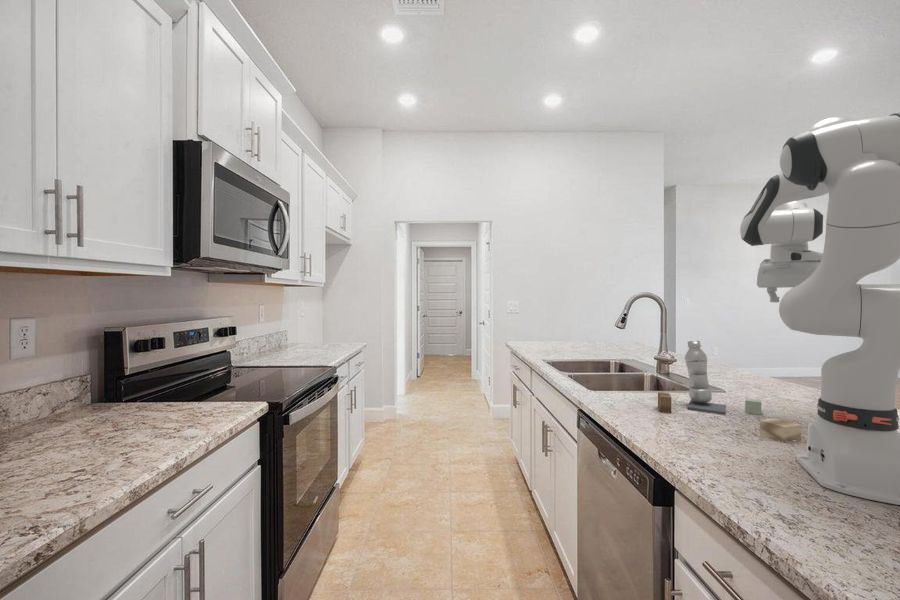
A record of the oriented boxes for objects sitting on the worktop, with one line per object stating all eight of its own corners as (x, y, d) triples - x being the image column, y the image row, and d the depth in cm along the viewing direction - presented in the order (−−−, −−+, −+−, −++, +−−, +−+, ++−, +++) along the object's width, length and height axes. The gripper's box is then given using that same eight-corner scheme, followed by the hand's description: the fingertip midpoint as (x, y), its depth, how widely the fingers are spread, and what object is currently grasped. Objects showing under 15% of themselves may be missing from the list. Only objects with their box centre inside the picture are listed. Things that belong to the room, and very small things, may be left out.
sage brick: (761, 415, 126) (761, 402, 126) (745, 413, 129) (745, 400, 129) (760, 412, 130) (761, 399, 130) (745, 410, 132) (745, 397, 132)
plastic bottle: (713, 400, 137) (705, 340, 138) (712, 405, 132) (704, 341, 133) (690, 400, 141) (683, 341, 142) (689, 404, 135) (681, 342, 136)
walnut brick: (671, 413, 128) (671, 397, 128) (660, 412, 129) (660, 396, 129) (668, 408, 134) (668, 392, 134) (657, 407, 135) (657, 392, 135)
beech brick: (801, 440, 105) (801, 425, 105) (784, 443, 104) (784, 427, 104) (776, 433, 111) (776, 418, 111) (759, 435, 109) (760, 420, 109)
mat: (725, 414, 127) (725, 412, 127) (687, 409, 132) (687, 406, 132) (725, 407, 135) (726, 404, 135) (690, 402, 140) (690, 400, 140)
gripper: (751, 259, 135) (750, 301, 136) (809, 253, 115) (808, 303, 115) (770, 259, 136) (769, 301, 136) (831, 254, 115) (830, 303, 116)
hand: (787, 302), depth 126 cm, fingers open, 8 cm apart
